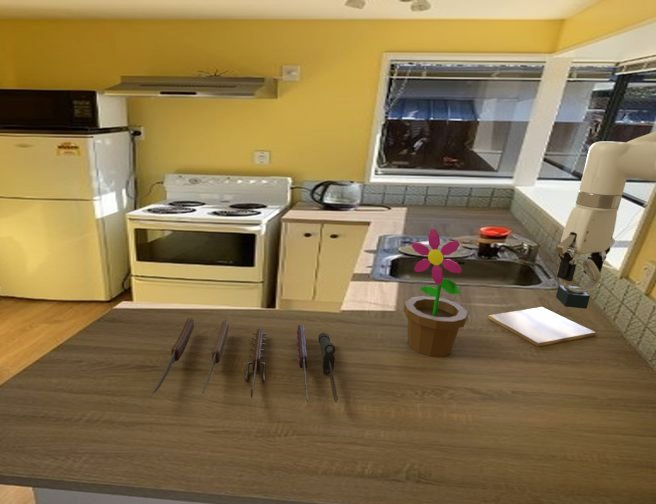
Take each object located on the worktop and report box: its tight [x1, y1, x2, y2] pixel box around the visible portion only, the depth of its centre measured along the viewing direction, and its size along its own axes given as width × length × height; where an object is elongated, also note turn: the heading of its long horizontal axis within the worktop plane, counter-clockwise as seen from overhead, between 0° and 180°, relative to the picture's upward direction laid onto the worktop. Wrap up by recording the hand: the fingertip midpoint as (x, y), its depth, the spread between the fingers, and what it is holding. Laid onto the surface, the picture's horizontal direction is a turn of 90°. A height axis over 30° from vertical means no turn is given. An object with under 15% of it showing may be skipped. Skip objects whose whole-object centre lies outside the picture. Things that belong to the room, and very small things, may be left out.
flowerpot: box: [403, 228, 469, 358], centre depth 100 cm, size 14×14×30 cm
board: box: [487, 306, 597, 347], centre depth 115 cm, size 20×16×1 cm
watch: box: [555, 256, 602, 310], centre depth 97 cm, size 6×8×11 cm
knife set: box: [151, 317, 339, 404], centre depth 90 cm, size 35×33×8 cm
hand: (578, 276), depth 97 cm, fingers closed on watch, 8 cm apart
